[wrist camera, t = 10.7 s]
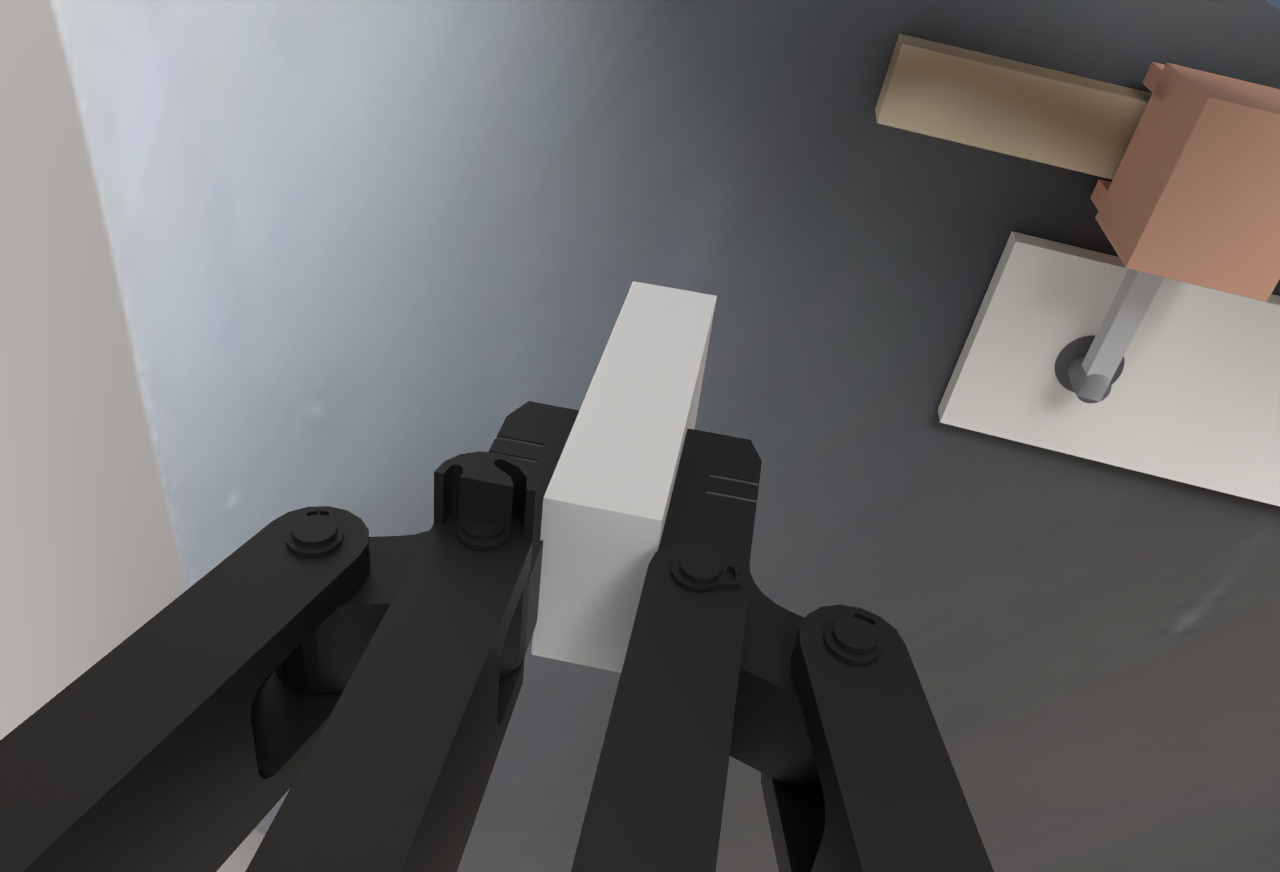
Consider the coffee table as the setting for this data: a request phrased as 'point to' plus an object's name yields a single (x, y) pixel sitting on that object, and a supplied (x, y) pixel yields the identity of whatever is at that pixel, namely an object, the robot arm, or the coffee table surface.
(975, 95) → the rail
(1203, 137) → the sliding leg
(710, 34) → the coffee table surface
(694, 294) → the robot arm
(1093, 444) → the hole plate
